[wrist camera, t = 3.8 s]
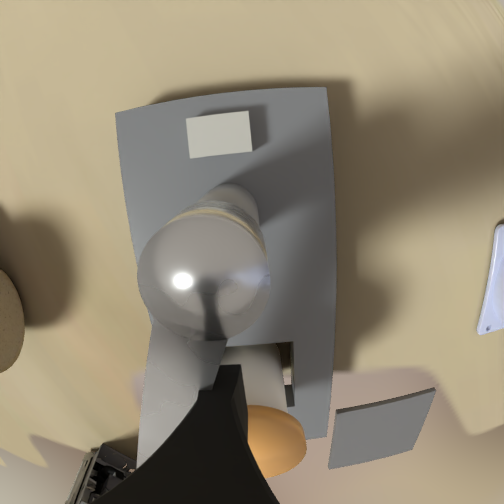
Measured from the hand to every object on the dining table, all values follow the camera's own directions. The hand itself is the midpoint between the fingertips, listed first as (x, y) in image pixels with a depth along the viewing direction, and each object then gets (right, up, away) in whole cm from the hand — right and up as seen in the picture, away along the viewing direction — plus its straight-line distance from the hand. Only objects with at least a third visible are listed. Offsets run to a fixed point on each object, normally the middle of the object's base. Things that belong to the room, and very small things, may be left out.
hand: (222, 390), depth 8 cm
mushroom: (+1, -2, +9) cm, 9 cm away
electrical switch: (-10, -15, +14) cm, 23 cm away
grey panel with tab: (0, +2, +8) cm, 8 cm away
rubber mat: (+11, -10, +12) cm, 19 cm away
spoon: (-2, 0, +1) cm, 2 cm away
